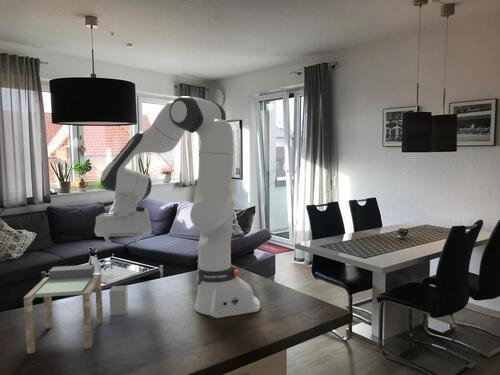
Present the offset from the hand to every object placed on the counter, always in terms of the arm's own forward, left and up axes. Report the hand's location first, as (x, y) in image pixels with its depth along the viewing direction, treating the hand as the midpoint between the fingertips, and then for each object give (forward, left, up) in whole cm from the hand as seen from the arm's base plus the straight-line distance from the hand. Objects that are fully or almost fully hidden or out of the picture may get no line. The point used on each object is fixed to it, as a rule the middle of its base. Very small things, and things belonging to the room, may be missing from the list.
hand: (122, 244), depth 144 cm
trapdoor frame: (+12, +28, -20) cm, 37 cm away
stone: (0, +12, -20) cm, 24 cm away
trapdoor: (+12, +27, -5) cm, 30 cm away
